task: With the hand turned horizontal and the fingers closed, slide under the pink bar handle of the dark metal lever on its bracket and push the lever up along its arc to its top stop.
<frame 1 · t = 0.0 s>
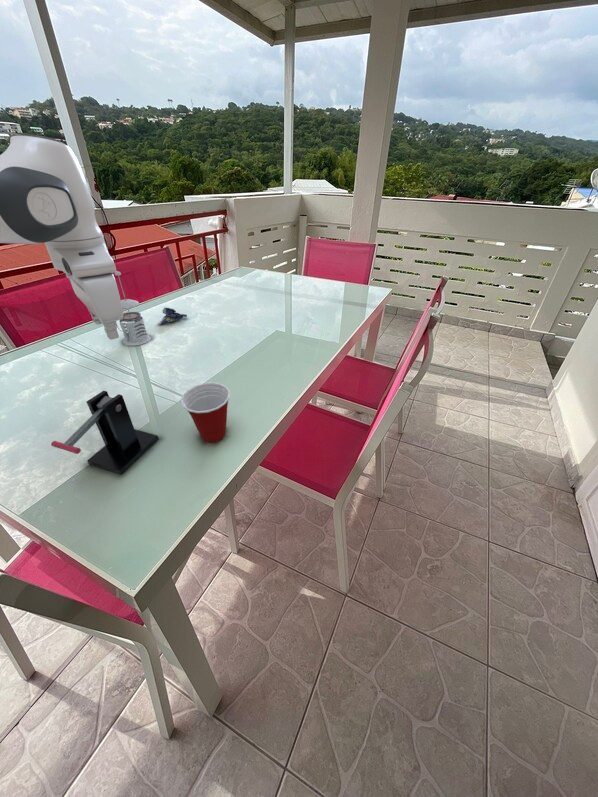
hand: (106, 330, 65), 27 cm above the table, tool pointing down, fingers open, 8 cm apart
snack package: (172, 321, 141), on the table
lever: (89, 423, 65), point 12 cm above the table, hinge at -12.0°
bracket: (125, 451, 76), on the table
plastic cup: (213, 436, 80), on the table
french press: (135, 341, 124), on the table
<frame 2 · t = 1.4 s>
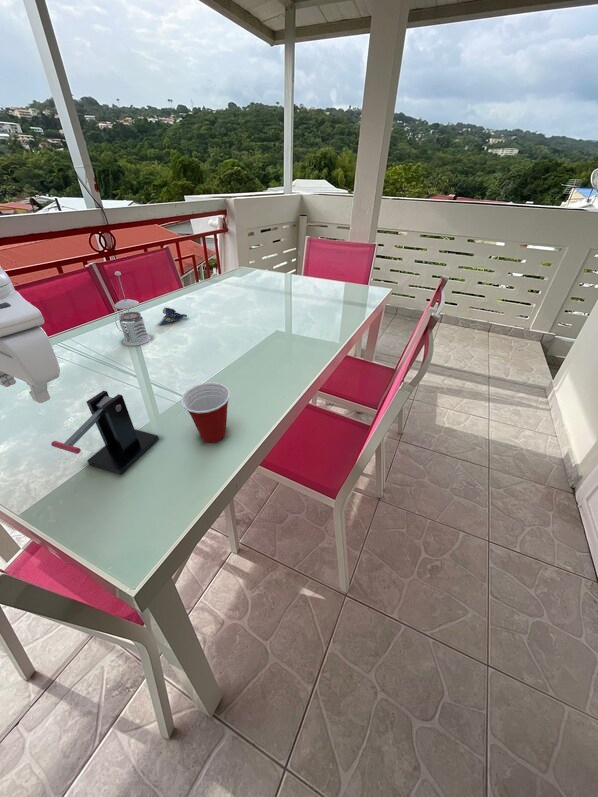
hand: (25, 392, 53), 24 cm above the table, tool pointing down, fingers open, 8 cm apart
nothing on the table moved.
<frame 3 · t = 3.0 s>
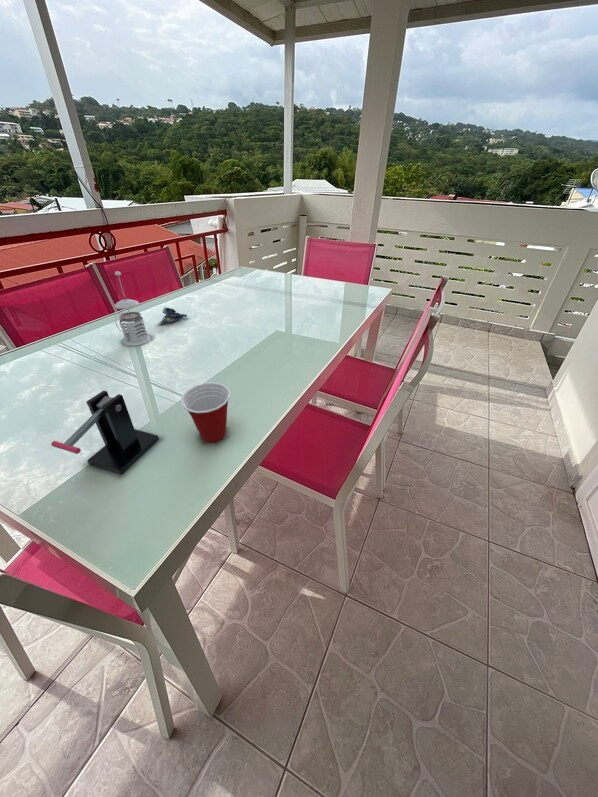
nothing on the table moved.
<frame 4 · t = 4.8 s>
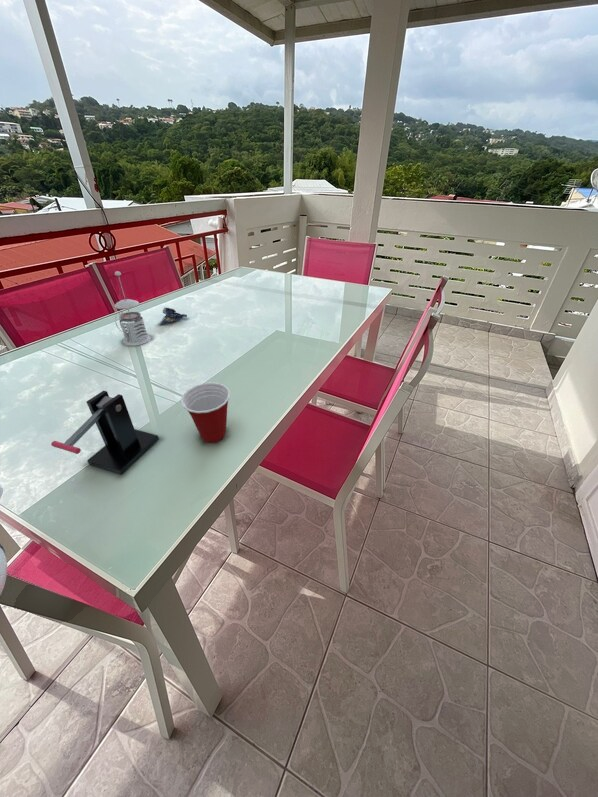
nothing on the table moved.
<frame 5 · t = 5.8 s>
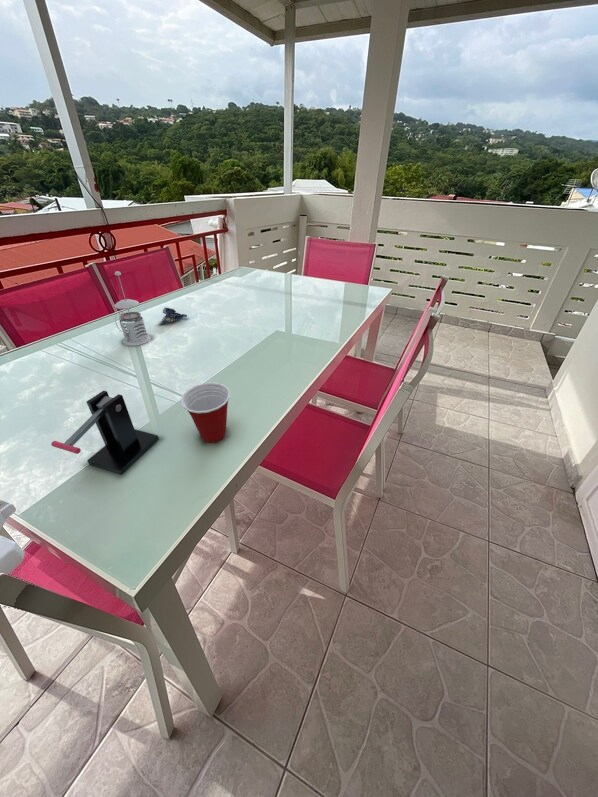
hand: (8, 504, 53), 8 cm above the table, tool horizontal, fingers closed
nothing on the table moved.
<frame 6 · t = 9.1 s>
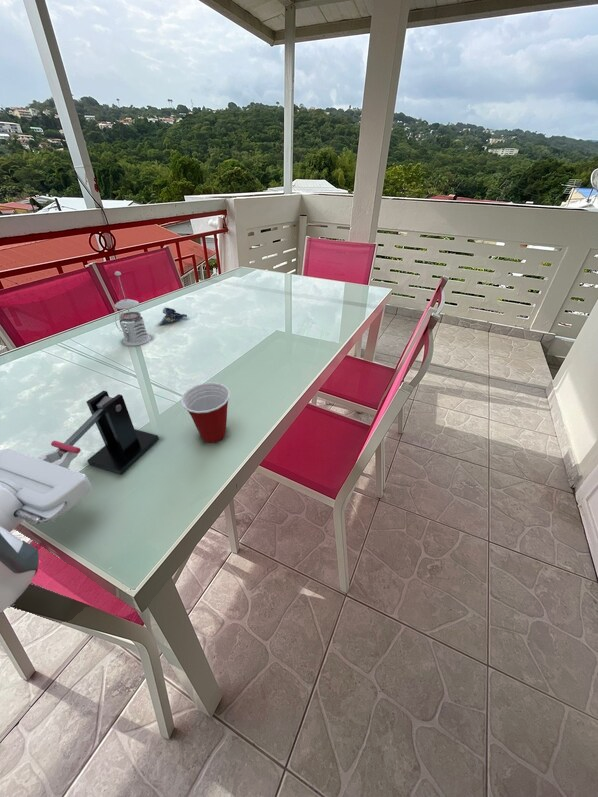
hand: (71, 449, 63), 9 cm above the table, tool horizontal, fingers closed, pressing on lever
lever: (89, 423, 65), point 12 cm above the table, hinge at -11.7°, touching gripper
everything else where it was.
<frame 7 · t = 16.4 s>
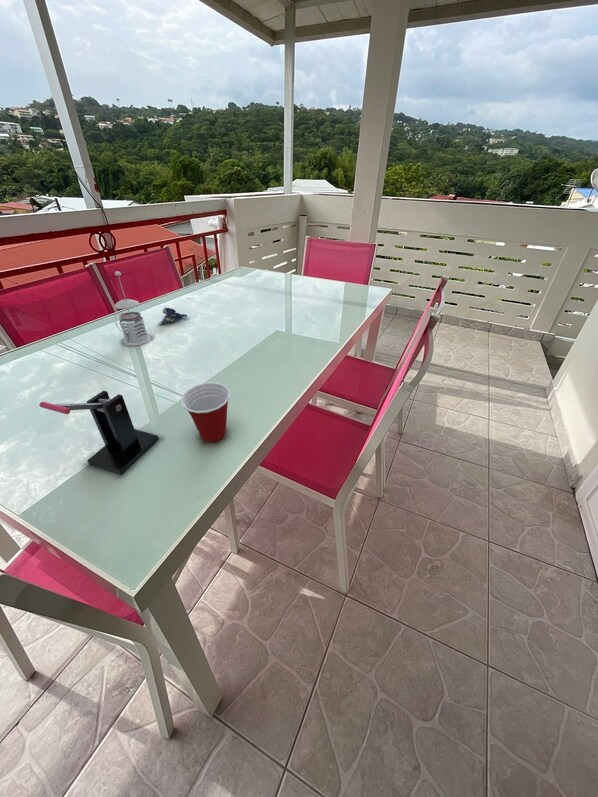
lever: (85, 406, 63), point 16 cm above the table, hinge at 31.9°
everything else where it was.
at the end: lever at +32° (first picture: -12°); the gripper is holding nothing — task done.
